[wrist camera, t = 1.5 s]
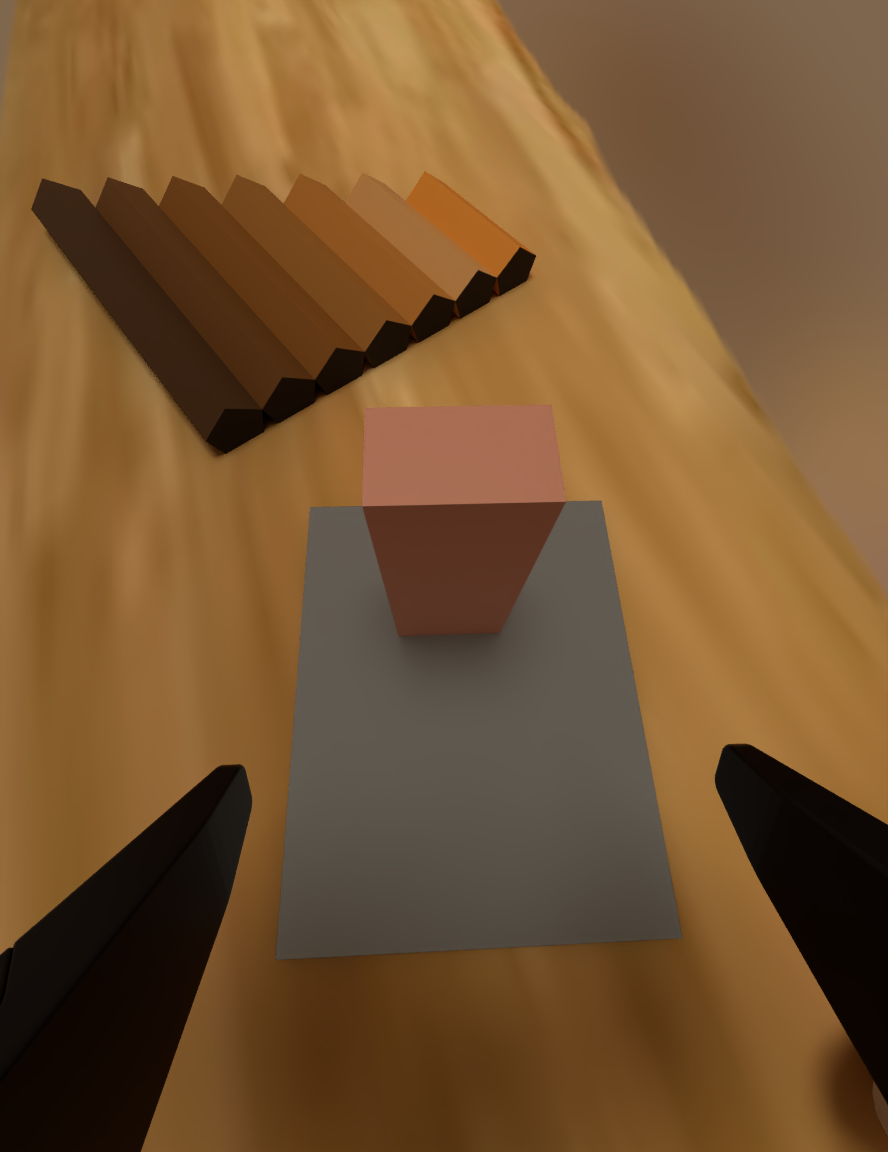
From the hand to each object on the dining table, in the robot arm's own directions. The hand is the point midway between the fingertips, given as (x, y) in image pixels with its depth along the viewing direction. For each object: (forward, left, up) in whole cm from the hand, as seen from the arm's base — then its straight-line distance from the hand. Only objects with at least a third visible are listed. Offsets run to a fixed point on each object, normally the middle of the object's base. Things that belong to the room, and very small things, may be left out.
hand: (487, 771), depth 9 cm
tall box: (+6, +4, -13) cm, 15 cm away
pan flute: (+22, +28, -14) cm, 39 cm away
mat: (+3, +1, -14) cm, 14 cm away
